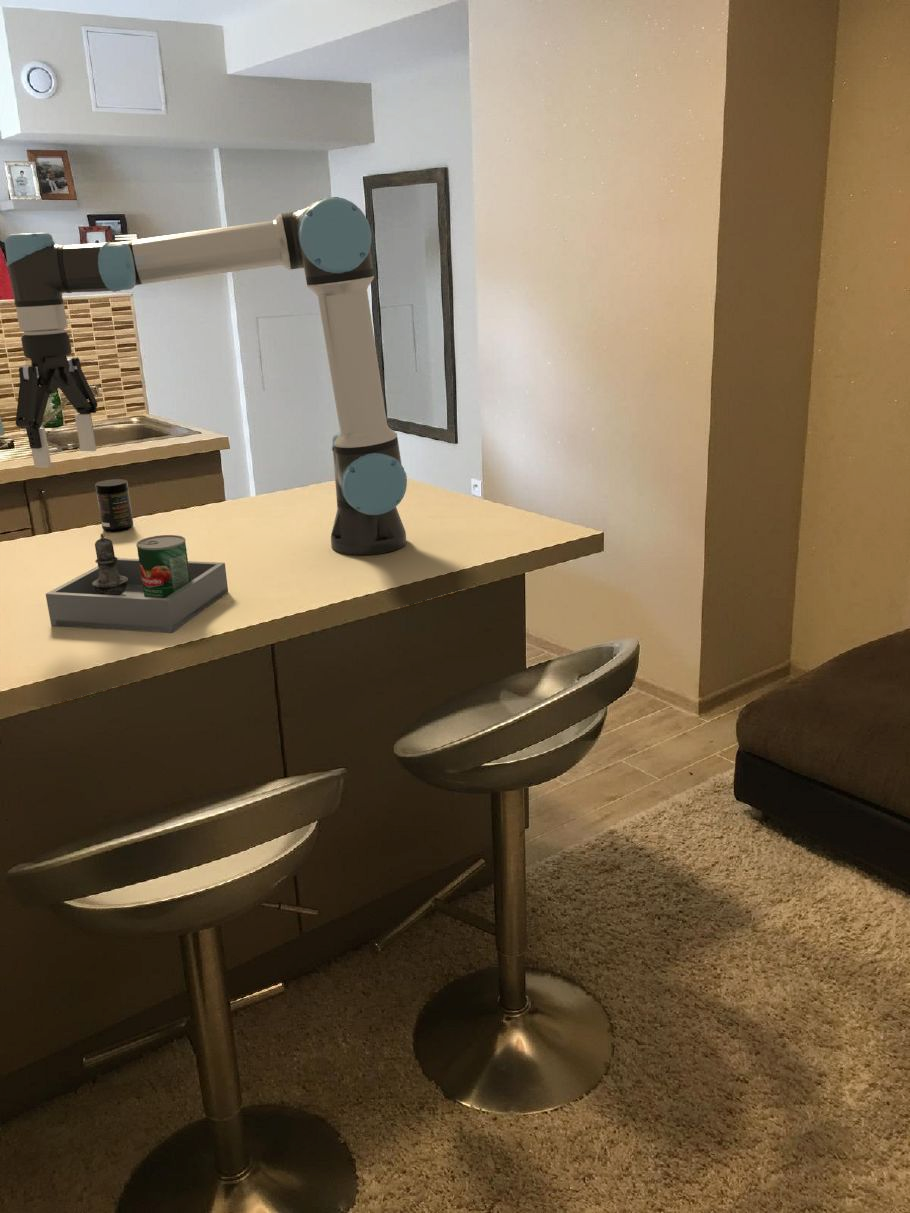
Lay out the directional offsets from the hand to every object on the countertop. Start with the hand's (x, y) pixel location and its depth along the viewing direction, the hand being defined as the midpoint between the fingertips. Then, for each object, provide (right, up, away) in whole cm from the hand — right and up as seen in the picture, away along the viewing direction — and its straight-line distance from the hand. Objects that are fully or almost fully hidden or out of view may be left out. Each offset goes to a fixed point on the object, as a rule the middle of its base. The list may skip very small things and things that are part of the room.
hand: (66, 458), depth 175 cm
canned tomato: (+19, -25, -4) cm, 32 cm away
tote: (+14, -26, -3) cm, 30 cm away
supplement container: (-7, -9, +48) cm, 49 cm away
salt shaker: (+9, -25, -2) cm, 26 cm away
